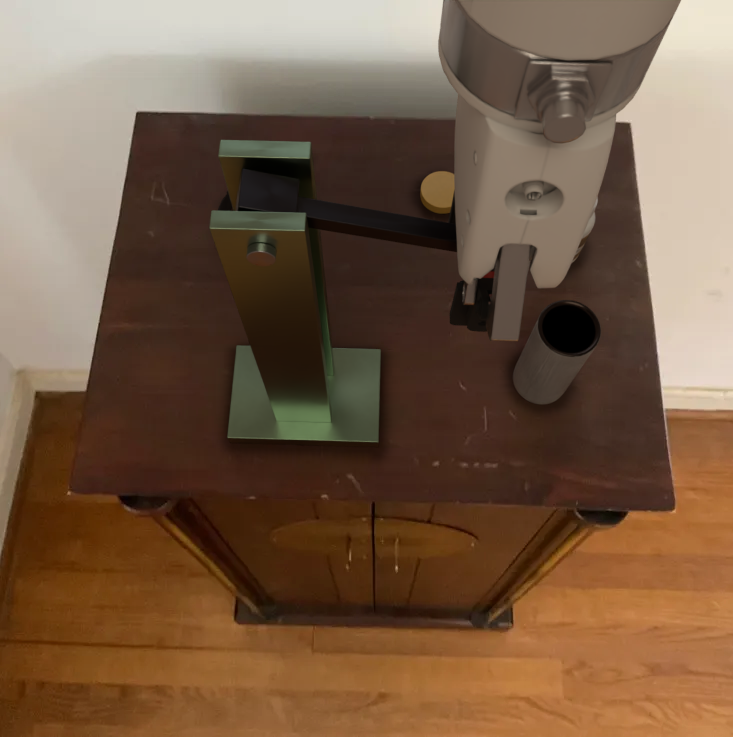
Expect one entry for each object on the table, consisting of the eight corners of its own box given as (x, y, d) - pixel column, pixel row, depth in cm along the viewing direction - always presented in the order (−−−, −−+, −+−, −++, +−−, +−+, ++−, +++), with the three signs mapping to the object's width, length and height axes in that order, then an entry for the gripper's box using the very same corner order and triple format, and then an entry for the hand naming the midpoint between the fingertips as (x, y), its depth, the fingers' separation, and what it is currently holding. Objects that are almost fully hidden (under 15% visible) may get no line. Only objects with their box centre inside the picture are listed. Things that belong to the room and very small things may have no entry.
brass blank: (447, 170, 72) (448, 164, 71) (471, 201, 71) (473, 194, 70) (411, 189, 71) (412, 183, 70) (436, 221, 70) (437, 214, 69)
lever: (495, 218, 43) (514, 194, 40) (498, 299, 41) (518, 278, 38) (239, 172, 39) (244, 143, 37) (230, 257, 37) (235, 232, 35)
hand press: (380, 356, 65) (391, 118, 37) (378, 447, 62) (388, 261, 34) (239, 352, 65) (145, 112, 38) (230, 443, 62) (120, 255, 35)
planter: (571, 362, 65) (606, 308, 55) (560, 411, 63) (595, 364, 54) (518, 348, 65) (544, 292, 56) (506, 396, 64) (531, 347, 54)
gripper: (691, 234, 23) (552, 420, 40) (634, -147, 30) (535, 152, 47) (444, 227, 23) (408, 416, 40) (440, -152, 30) (411, 148, 47)
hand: (477, 272), depth 43 cm, fingers closed on lever, 5 cm apart
